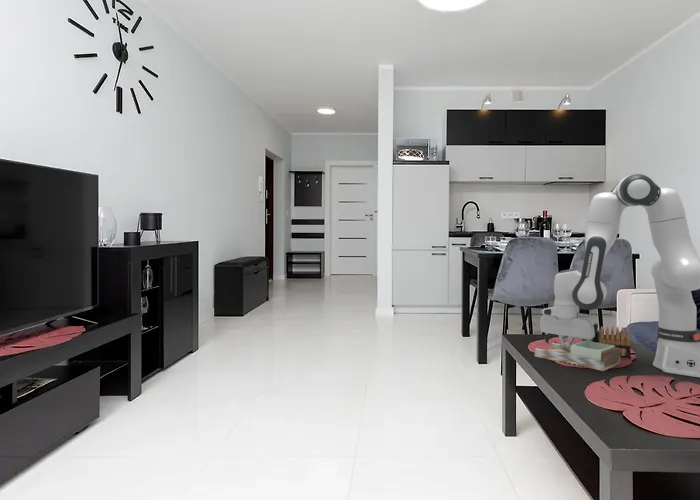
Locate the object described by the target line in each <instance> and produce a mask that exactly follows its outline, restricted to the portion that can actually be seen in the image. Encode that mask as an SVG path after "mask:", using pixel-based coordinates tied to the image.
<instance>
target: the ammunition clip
mask: <svg viewBox="0 0 700 500" xmlns="http://www.w3.org/2000/svg"><path fill="white" fill-rule="evenodd" d="M610 328H611V329H609V326H606V328H605V329H604V327H603V325H602V326H600V330H599V331H600V343H602V344H608V345H613V346H615V348H616V347H617V348H619V355H620V356H621V358H629V359H628V360H631V359H632V356H631V354H632V353H631V351H632V350H631V331H630V328H629V327H627V328H626V331H625V328H624V327H621V331H620V329H619V327H618V326H617V327H616V329H614V326H611V327H610ZM604 330H605V331H604ZM620 332H621V333H620Z"/></svg>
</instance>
